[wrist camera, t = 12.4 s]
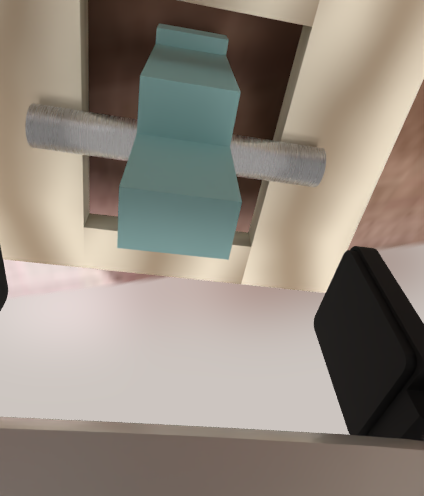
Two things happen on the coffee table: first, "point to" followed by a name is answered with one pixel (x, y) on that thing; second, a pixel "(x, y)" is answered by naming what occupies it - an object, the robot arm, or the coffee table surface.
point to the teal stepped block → (183, 150)
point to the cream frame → (242, 147)
